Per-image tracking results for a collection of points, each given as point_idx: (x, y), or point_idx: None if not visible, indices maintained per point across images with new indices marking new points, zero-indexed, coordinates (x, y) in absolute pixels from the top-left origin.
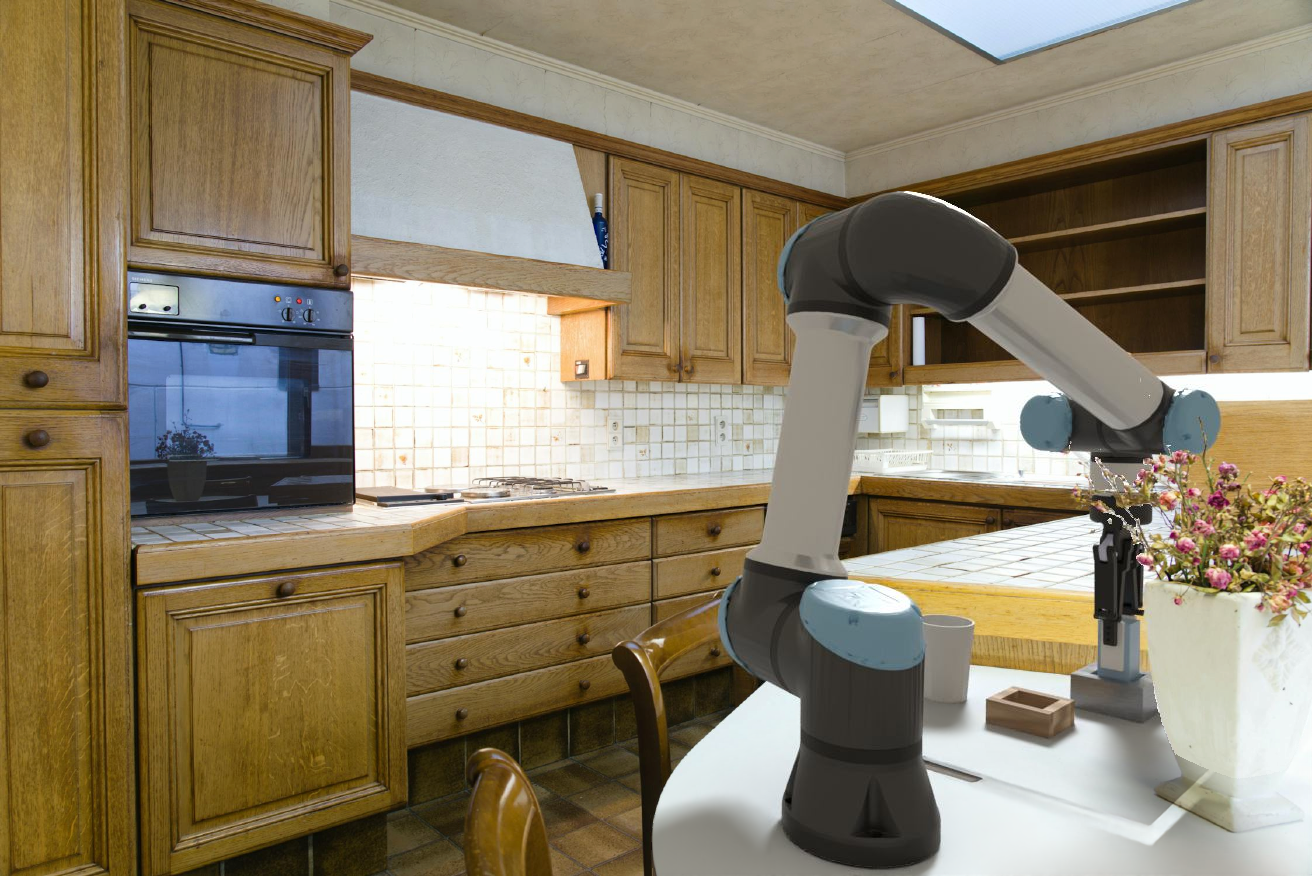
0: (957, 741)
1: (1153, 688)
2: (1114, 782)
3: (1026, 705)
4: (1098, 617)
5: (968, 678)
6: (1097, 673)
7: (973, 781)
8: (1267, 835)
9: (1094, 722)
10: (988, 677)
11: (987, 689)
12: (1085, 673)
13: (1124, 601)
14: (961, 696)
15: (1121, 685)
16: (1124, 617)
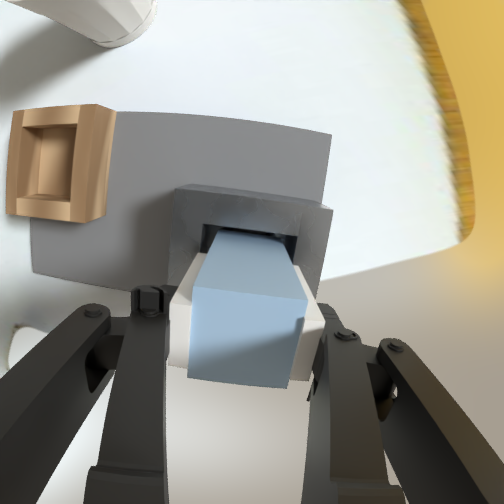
0: (4, 111)
1: None
2: (10, 290)
3: (17, 171)
4: (137, 303)
5: (96, 30)
6: (215, 238)
7: None
8: None
9: None
10: (337, 15)
11: (258, 27)
12: (198, 215)
13: (320, 380)
14: (93, 39)
15: None
16: (296, 349)
